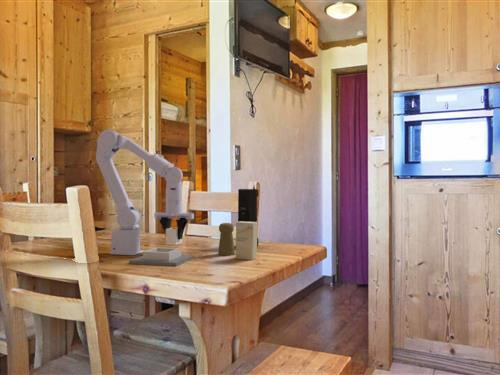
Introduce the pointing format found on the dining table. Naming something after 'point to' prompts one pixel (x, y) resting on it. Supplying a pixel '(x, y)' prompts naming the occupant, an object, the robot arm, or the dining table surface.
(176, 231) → the brick
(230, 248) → the cork
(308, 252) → the dining table surface
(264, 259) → the dining table surface
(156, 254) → the outlet plate
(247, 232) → the skincare box
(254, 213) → the portable radio
